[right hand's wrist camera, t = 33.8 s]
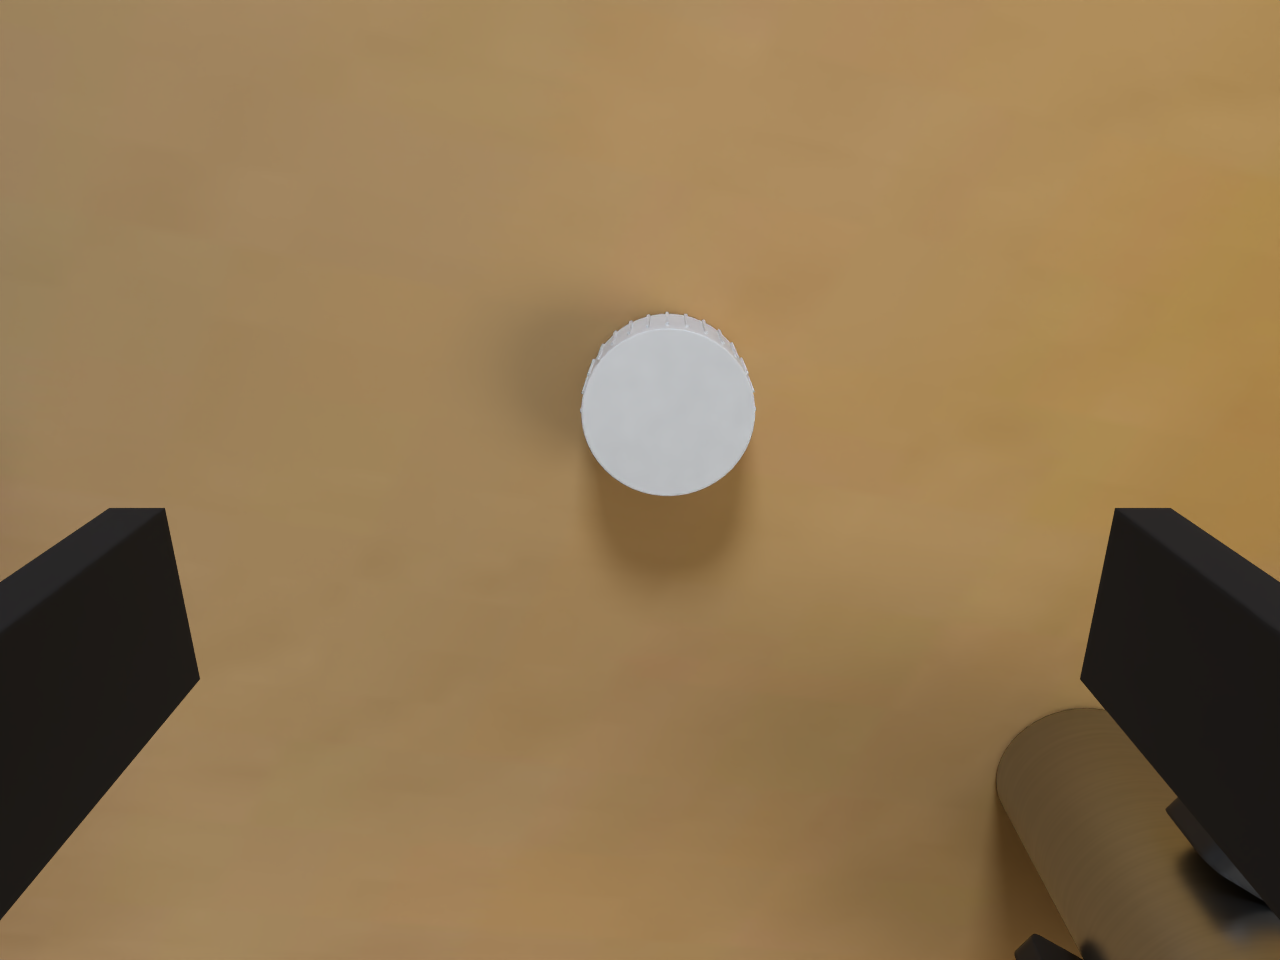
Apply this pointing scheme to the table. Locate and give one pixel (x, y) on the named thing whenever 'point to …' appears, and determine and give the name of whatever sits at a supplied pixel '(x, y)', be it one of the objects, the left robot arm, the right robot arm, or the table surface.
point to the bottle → (1121, 849)
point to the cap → (668, 405)
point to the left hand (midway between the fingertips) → (1113, 901)
